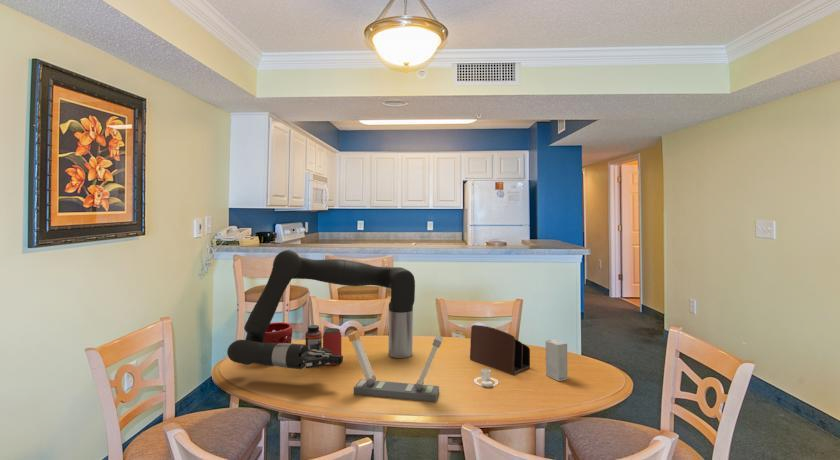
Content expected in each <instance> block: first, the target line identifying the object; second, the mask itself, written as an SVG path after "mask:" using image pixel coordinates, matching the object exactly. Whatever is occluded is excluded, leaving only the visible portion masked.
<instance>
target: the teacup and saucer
mask: <svg viewBox="0 0 840 460" xmlns="http://www.w3.org/2000/svg"><path fill="white" fill-rule="evenodd" d="M491 372H492V370H490V369H489V368H481V370H480V376H477V377H475V378H474V379H473V383H474V384H475V385H478V386H480V387H486V388H492V387H496V386H498V384H499V380H498V379H496V378H495V377H491V374H492V373H491ZM478 380H481V382H480V383H479V382H478ZM490 380H492V381H494V382H492V381H490Z"/></svg>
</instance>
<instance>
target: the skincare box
mask: <svg viewBox="0 0 840 460" xmlns="http://www.w3.org/2000/svg"><path fill="white" fill-rule="evenodd" d="M545 375H546V376H547V377H549V378H551V379H553V380H555V381H557V382H562V381H567V380H568V343H566V342H563V341H561V340H558V339H555V338H553V339H547V340H545Z"/></svg>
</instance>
